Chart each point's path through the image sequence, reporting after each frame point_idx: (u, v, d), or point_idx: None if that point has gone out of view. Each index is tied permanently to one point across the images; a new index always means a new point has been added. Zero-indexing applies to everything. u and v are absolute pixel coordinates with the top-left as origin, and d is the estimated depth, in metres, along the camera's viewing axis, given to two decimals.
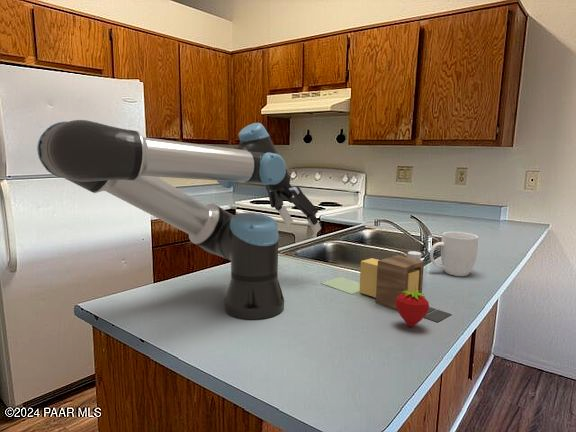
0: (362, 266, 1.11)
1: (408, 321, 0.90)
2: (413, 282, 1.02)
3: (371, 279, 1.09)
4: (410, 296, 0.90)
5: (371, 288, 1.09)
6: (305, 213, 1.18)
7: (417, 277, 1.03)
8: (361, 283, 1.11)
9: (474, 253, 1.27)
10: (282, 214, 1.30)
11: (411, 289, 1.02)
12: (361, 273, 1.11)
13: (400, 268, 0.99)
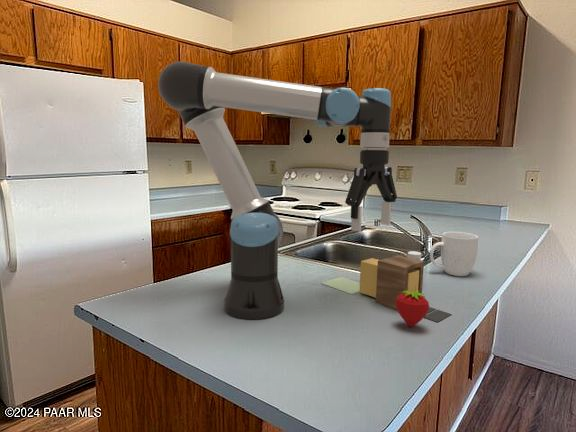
0: (362, 266, 1.11)
1: (408, 321, 0.90)
2: (413, 282, 1.02)
3: (371, 279, 1.09)
4: (410, 296, 0.90)
5: (371, 288, 1.09)
6: None
7: (417, 277, 1.03)
8: (361, 283, 1.11)
9: (474, 253, 1.27)
10: (382, 207, 1.14)
11: (411, 289, 1.02)
12: (361, 273, 1.11)
13: (400, 268, 0.99)
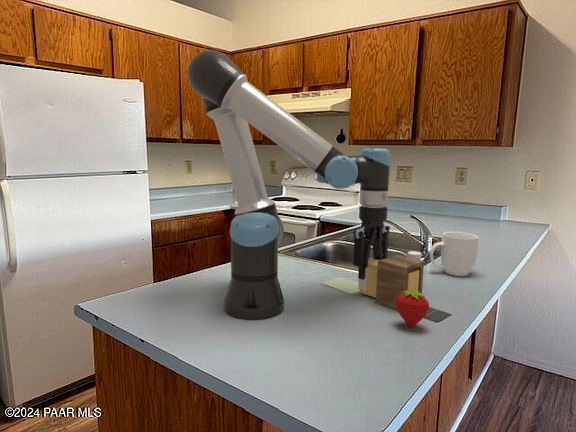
0: None
1: (408, 321, 0.90)
2: (413, 282, 1.02)
3: (371, 279, 1.09)
4: (410, 296, 0.90)
5: (371, 288, 1.09)
6: None
7: (417, 277, 1.03)
8: None
9: (474, 253, 1.27)
10: None
11: (411, 289, 1.02)
12: None
13: (400, 268, 0.99)
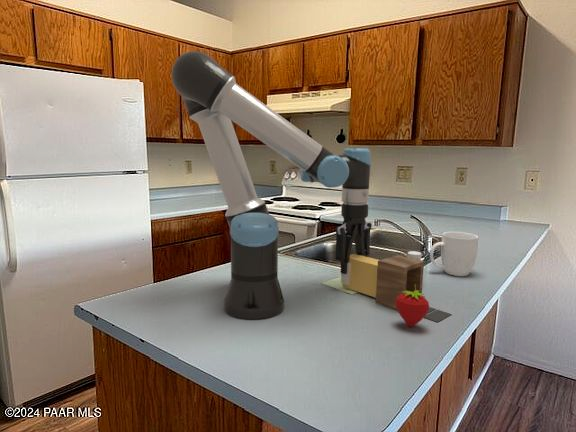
0: None
1: (408, 321, 0.90)
2: None
3: (352, 274, 1.13)
4: (410, 296, 0.90)
5: (353, 282, 1.14)
6: None
7: None
8: None
9: (474, 253, 1.27)
10: None
11: None
12: None
13: (400, 268, 0.99)
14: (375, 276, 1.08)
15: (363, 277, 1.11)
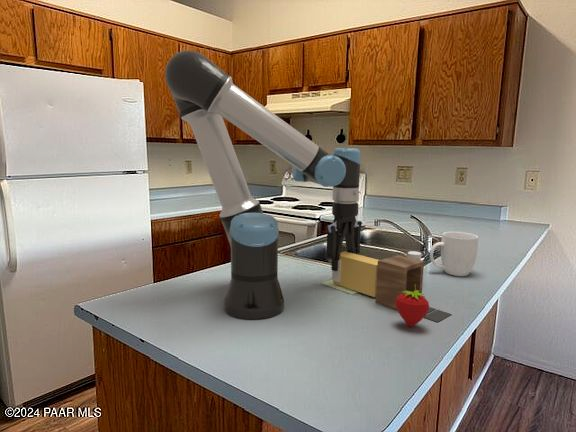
0: None
1: (408, 321, 0.90)
2: None
3: (343, 271, 1.16)
4: (410, 296, 0.90)
5: (343, 279, 1.16)
6: None
7: None
8: None
9: (474, 253, 1.27)
10: None
11: None
12: None
13: (400, 268, 0.99)
14: (365, 273, 1.10)
15: (353, 274, 1.13)
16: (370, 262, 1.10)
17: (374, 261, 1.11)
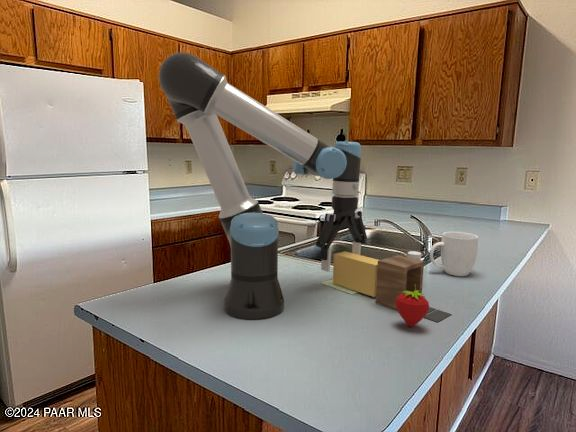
0: (335, 258, 1.18)
1: (408, 321, 0.90)
2: None
3: (343, 271, 1.16)
4: (410, 296, 0.90)
5: (343, 279, 1.16)
6: None
7: None
8: (334, 274, 1.19)
9: (474, 253, 1.27)
10: (353, 247, 1.23)
11: None
12: (334, 265, 1.18)
13: (400, 268, 0.99)
14: (364, 273, 1.10)
15: (352, 273, 1.14)
16: (370, 262, 1.10)
17: (374, 260, 1.11)
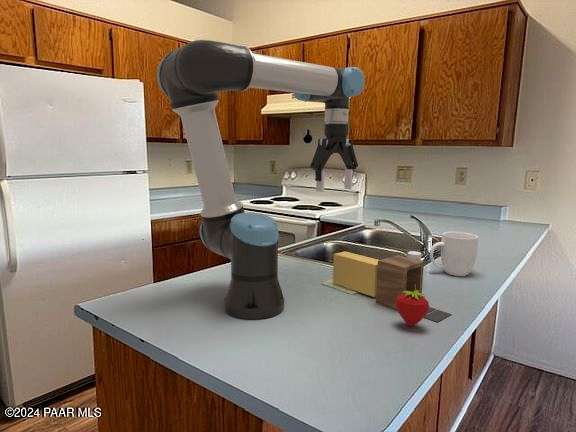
0: (335, 258, 1.18)
1: (408, 321, 0.90)
2: None
3: (343, 271, 1.16)
4: (410, 296, 0.90)
5: (343, 279, 1.16)
6: None
7: None
8: (334, 274, 1.19)
9: (474, 253, 1.27)
10: (345, 174, 1.35)
11: None
12: (334, 265, 1.18)
13: (400, 268, 0.99)
14: (364, 273, 1.10)
15: (352, 273, 1.14)
16: (370, 262, 1.10)
17: (374, 260, 1.11)
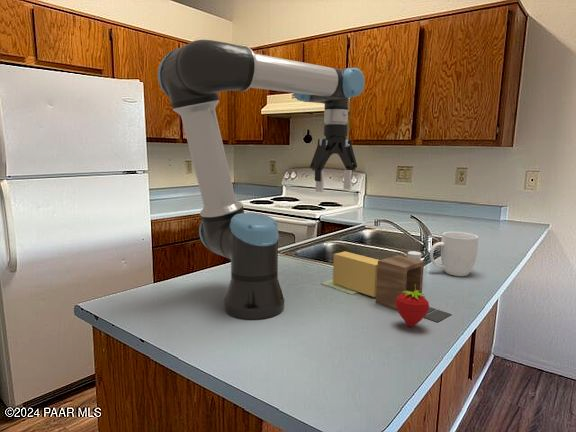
0: (335, 258, 1.18)
1: (408, 321, 0.90)
2: None
3: (343, 271, 1.16)
4: (410, 296, 0.90)
5: (343, 279, 1.16)
6: None
7: None
8: (334, 274, 1.19)
9: (474, 253, 1.27)
10: (345, 175, 1.35)
11: None
12: (334, 265, 1.18)
13: (400, 268, 0.99)
14: (364, 273, 1.10)
15: (352, 273, 1.14)
16: (370, 262, 1.10)
17: (374, 260, 1.11)
